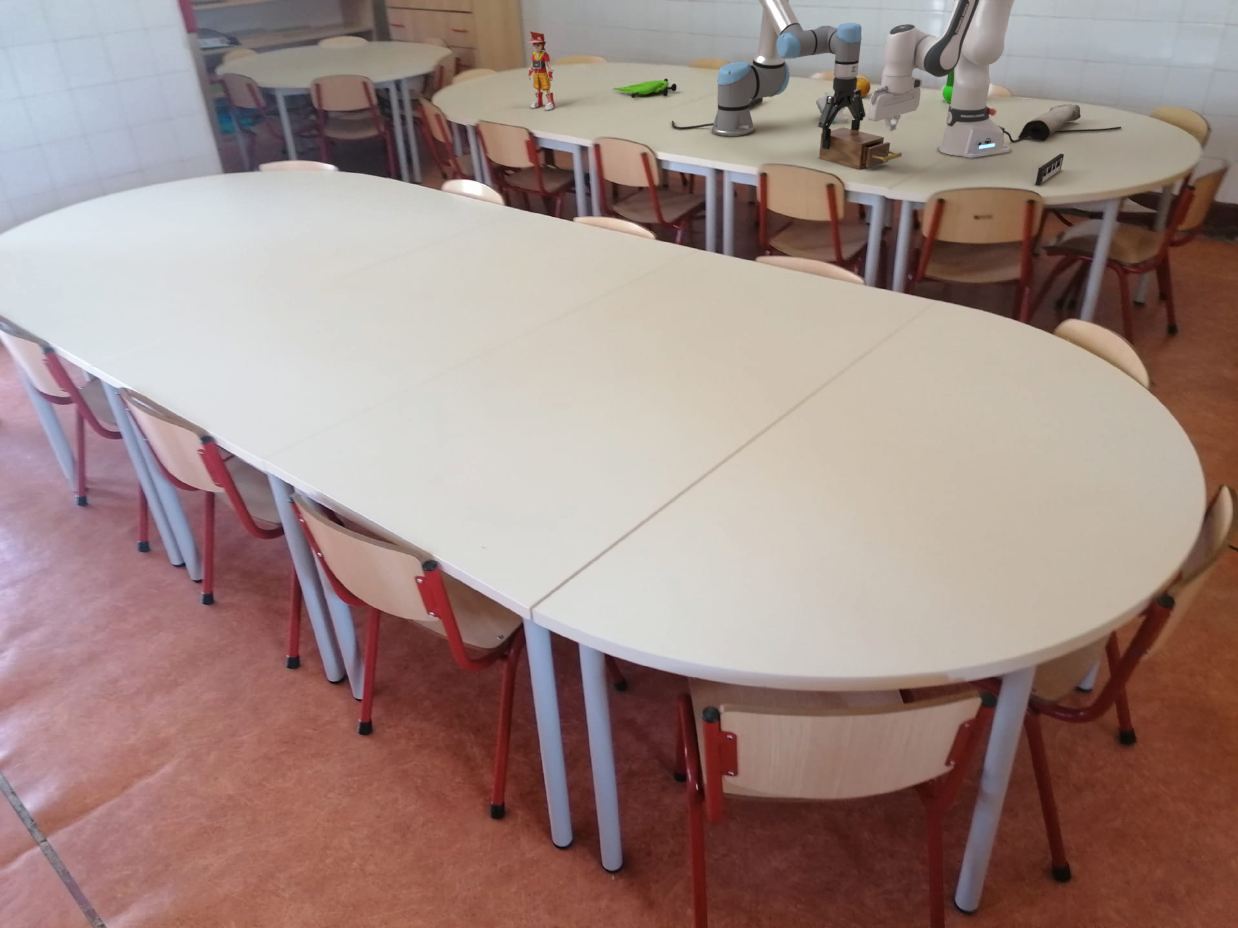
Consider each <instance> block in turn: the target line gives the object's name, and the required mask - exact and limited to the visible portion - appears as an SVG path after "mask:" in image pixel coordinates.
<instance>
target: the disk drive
mask: <svg viewBox="0 0 1238 928" xmlns="http://www.w3.org/2000/svg"><path fill="white" fill-rule="evenodd" d="M763 100H764V97H763V98H757V99H751V100H749V110H750V109H752V108H753V107H755V106H757V105H759V104H761V103H762V102H763Z"/></svg>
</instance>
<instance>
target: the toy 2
mask: <svg viewBox="0 0 1238 928" xmlns="http://www.w3.org/2000/svg"><path fill="white" fill-rule="evenodd" d="M669 85H670V83H669V79H668V78H664V79H663V80H649V81H644V82H640V83H634V84H629V85H627V86H621V87H613V88H612V89H613V90H616V91H619V92H623V93H627V94H628V93H629V94H631V95H630V96H631V98H632V99H634V98H636V96H637V95H650V94H652V93H654V94H658V93H662V95H663V96H665V97H667V96H668V95H669V90H671V91H672V92H676V91H677V84H676V83H672V84H671V86H669Z"/></svg>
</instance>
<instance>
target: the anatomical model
mask: <svg viewBox="0 0 1238 928" xmlns="http://www.w3.org/2000/svg"><path fill="white" fill-rule="evenodd" d="M827 96H831V95H830V93H828V92H825V93H824V95H823V96H822V97H819V98H817V99H816V100H815V104H816V106H817V108H818V110H819V113H820V114H822V112H823V110H824V107H825V104H826V99H827ZM844 110H846V107H844V108H841V110H840V111H838V113H837V115H836V117H835V119H834V120H833V122H832V124H836V123H837V122H848V121H849V120H850V117H848V116H847V117H846V116H844V115H843V112H844Z"/></svg>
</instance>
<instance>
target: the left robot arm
mask: <svg viewBox="0 0 1238 928" xmlns="http://www.w3.org/2000/svg"><path fill="white" fill-rule="evenodd" d="M758 1H759V3H760V5H761V6H762V15H761V23H760V33H759V39H758V40H759V42H758V48H757V53H756V54H755V55H754V56H753V57H752V63H750V62H749V61H733V62H730V63H726V64H724V65H723V66H721V67H720V68H719V70H718V75H717V111H716V114H715V118H714V120H713V122H711V123H704V124H697V125H690V126H677V125H675V121H674V120H671V126H672V128H674V129H677V130H689V129H691V130H692V129H696V128H697V129H698V128H704V127H712V133H713V134H715V135H717V136H721V137H741V136H746V135H750V134H752V133H754V127H755V126H754V122H753V118H752V115H751V111H750V109H749V100H751V99H757V98H763V99H764V98H772V97H774V96H778V95H781V94H782V93H783V92H784V91H786V89H787V87H788V85H789V81H790V71H789V70H790V68H789V65H788V63H787V62H786V59H787V60H790V59H797V58H803V57H809V56H816V55H823V54H830V55H831V54H832V55H834V57H835V58H834V59H835V60H834V68H833V76H834V77H833V79H832V80H833V81H832V89H833V91H834V94H833V95H830V96H827V99H826V104H825V107H824V110H823V112H822V113H821V115H820V118H819V121H818V123H817V127H818V128H820V129H821V133H822V139H823V141H822V148H824V149H830V137H831V131H832V128H831V126H832V124H833V123H832V122H833V120H834V119H835V117H836V115H837V113H838V111H840V110H841V108H844V107H845V108H847V109H848V111H849V112H850V114H851V116H852V118H853V119H851V124H850V129H852V130H856V131H860V127H861V122H862V121H864V118H865V117H866V116H867V113H866V110H865V107H864V102H863V97H861V90H858V89H856V88H857V79H858V77H857V76H858V74H859V64H860V63H859V62H860V53H861V46H862V45H861V44H862V39H863V38H862V25H861V24H860V23H856V22H855V23H854V22H845V23H840V24H839V25H838V26H837V27H835V26H831V25H820V26H818V27H816V28H814V29H807V30H804V29H803V27H802V26H801V24H800V22H799V20H798V18H797V16H796V14H795V13H794V11H793V9H792V7H791V5H790V0H758Z"/></svg>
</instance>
